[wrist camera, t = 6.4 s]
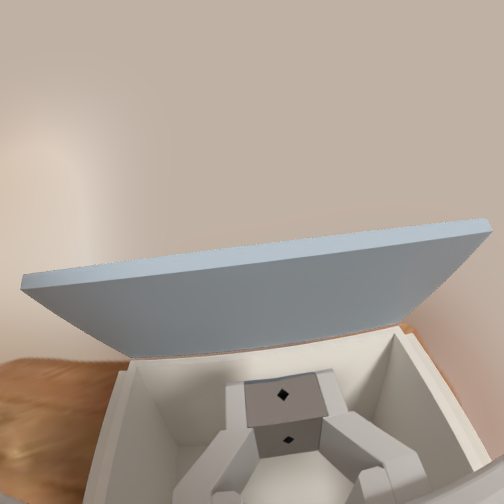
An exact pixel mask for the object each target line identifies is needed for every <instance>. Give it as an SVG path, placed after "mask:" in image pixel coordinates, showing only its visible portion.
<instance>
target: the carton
mask: <svg viewBox="0 0 504 504" xmlns="http://www.w3.org/2000/svg"><path fill="white" fill-rule="evenodd" d="M331 368H332V369H333V370H334V373H335V376H336V378H337V381H338V384H339V386H340V389H341V392H342V395H343V398H344V400H345V403H346V406H347V409H348V412H350V411H355V412H356V413H358V414H359V415H360V416H362V417H363V418H365V419H366V420H368V421H369V422H371V423H372V424H374V425H375V426H377V427H378V428H380V429H381V430H383V431H384V432H386V433H387V434H389V435H390V436H392V437H393V438H395V439H396V440H398V441H400V442H401V443H403V444H404V445H406V446H407V447H409V448H411V449H412V450H414V451H415V452H417V454H418V457H419V459H420V461H421V464H422V466H423V468H424V471H425V473H426V475H427V478H428V480H429V483H430V485H431V488H432V490H433V492H434V491H436V490H438V489H440V488H443V487H445V486H447V485H449V484H451V483H453V482H455V481H457V480H459V479H461V478H463V477H465V476H467V475H469V474H471V473H473V472H474V471H476V470H478V469H480V468H482V467H483V466H485V465H487V464H489V463H490V462H492V461H491V459H490V457H489V455H488V453H487V451H486V450H485V448H484V446H483V444H482V442H481V441H480V439H479V437H478V435H477V433H476V432H475V430H474V428H473V427H472V425H471V423H470V421H469V420H468V418H467V416H466V415H465V413H464V411H463V410H462V408H461V406H460V405H459V403H458V401H457V400H456V398H455V397H454V395H453V393H452V392H451V390H450V389H449V387H448V385H447V384H446V382H445V381H444V379H443V378H442V376H441V375H440V373H439V371H438V370H437V368H436V367H435V365H434V364H433V362H432V361H431V359H430V358H429V356H428V355H427V353H426V352H425V350H424V349H423V348H422V346H421V345H420V343H419V342H418V340H417V339H416V337H415V336H414V335H413V333H410V334H406V335H405V334H404V333H403V331H402V330H401V329H400V327H399V326H396V327H391V328H387V329H382V330H378V331H373V332H368V333H363V334H358V335H353V336H348V337H343V338H338V339H332V340H326V341H321V342H315V343H308V344H302V345H296V346H289V347H282V348H275V349H267V350H259V351H251V352H242V353H233V354H223V355H213V356H201V357H188V358H173V359H155V360H131V361H130V364H129V367H128V370H127V371H119V373H118V376H117V379H116V382H115V385H114V388H113V391H112V395H111V398H110V401H109V404H108V407H107V411H106V414H105V417H104V421H103V424H102V428H101V431H100V435H99V438H98V442H97V446H96V449H95V453H94V457H93V461H92V465H91V469H90V473H89V477H88V481H87V486H86V490H85V494H84V499H83V504H172V496H173V489H174V488H175V487H176V486H177V485H178V483H179V482H180V481H181V480H182V479H183V477H184V476H185V475H186V474H187V472H188V471H189V470H190V469H191V467H192V466H193V465H194V464H195V462H196V461H197V460H198V459H199V457H200V456H201V455H202V454H203V452H204V451H205V450H206V448H207V447H208V446H209V445H210V443H211V442H212V441H213V439H214V438H215V437H216V435H217V434H218V433H219V431H220V430H226V422H225V386H226V383H228V382H240V381H250V380H261V379H271V378H279V377H283V376H289V375H296V374H302V373H307V372H315V371H320V370H325V369H331ZM318 451H319V450H317V451H311V452H304V453H297V454H290V455H284V456H277V457H270V458H263V459H260V461H259V463H258V465H257V467H256V468H255V470H254V472H253V474H252V476H251V477H250V479H249V481H248V483H247V484H246V486H245V488H244V489H243V491H242V493H241V497H242V500H243V502H244V504H345V502H346V500H347V498H348V496H349V494H350V492H351V490H352V488H353V486H354V484H353V483H352V482H351V481H350V480H349V479H347V478H346V477H345V476H344V475H343V474H342V473H341V472H340V471H339V470H338V469H337V468H335V467H334V466H333V465H332V464H331V463H330V462H329V461H328V460H327V459H326V458H325V457H324V456H323V455H322V454H321V453H319V452H318Z"/></svg>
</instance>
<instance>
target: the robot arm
mask: <svg viewBox="0 0 504 504" xmlns="http://www.w3.org/2000/svg"><path fill="white" fill-rule="evenodd" d="M225 422H226V430H220V431H219V433H218V434H217V435H216V437H215V438H214V439H213V441H212V442H211V443H210V445H209V446H208V447H207V448H206V450H205V451H204V452H203V454H202V455H201V456H200V457H199V459H198V460H197V461H196V462H195V464H194V465H193V466H192V467H191V469H190V470H189V471H188V472H187V474H186V475H185V476H184V477H183V479H182V480H181V481H180V482H179V483H178V485H177V486H176V487H175V488H174V489H173V496H172V504H244V502H243V500H242V497H241V493H242V491H243V489H244V488H245V486H246V484H247V483H248V481H249V479H250V477H251V476H252V474H253V472H254V470H255V468H256V467H257V465H258V463H259V461H260V459H263V458H270V457H277V456H284V455H290V454H297V453H304V452H311V451H317V450H319V451H318V452H319V453H321V454H322V455H323V456H324V457H325V458H326V459H327V460H328V461H329V462H330V463H331V464H332V465H333V466H334V467H335V468H337V469H338V470H339V471H340V472H341V473H342V474H343V475H344V476H345V477H346V478H347V479H349V480H350V481H351V482H352V483H353V484H354V486H353V488H352V490H351V492H350V494H349V496H348V498H347V500H346V502H345V504H504V454H503V455H502V456H500V457H499V458H497V459H495V460H494V461H492V462H490V463H489V464H487V465H485V466H483V467H482V468H480V469H478V470H476V471H474V472H473V473H471V474H469V475H467V476H465V477H463V478H461V479H459V480H457V481H455V482H453V483H451V484H449V485H447V486H445V487H443V488H440V489H438V490H436V491H434V492H433V490H432V488H431V485H430V483H429V480H428V478H427V475H426V473H425V471H424V468H423V466H422V464H421V461H420V459H419V457H418V454H417V452H415V451H414V450H412V449H411V448H409V447H407V446H406V445H404V444H403V443H401V442H400V441H398V440H396V439H395V438H393V437H392V436H390V435H389V434H387V433H386V432H384V431H383V430H381V429H380V428H378V427H377V426H375V425H374V424H372V423H371V422H369V421H368V420H366V419H365V418H363V417H362V416H360V415H359V414H358V413H356V412H355V411H350V412H348V409H347V406H346V403H345V400H344V398H343V395H342V392H341V389H340V386H339V384H338V381H337V378H336V376H335V373H334V370H333V369H332V368H331V369H325V370H320V371H315V372H307V373H302V374H296V375H289V376H283V377H279V378H271V379H261V380H250V381H240V382H228V383H226V386H225ZM0 504H28V503H26V502H23V501H21V500H18V499H16V498H13V497H11V496H9V495H6V494H4V493H2V492H0Z"/></svg>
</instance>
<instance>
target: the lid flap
mask: <svg viewBox="0 0 504 504" xmlns="http://www.w3.org/2000/svg"><path fill="white" fill-rule="evenodd" d="M491 232H492V229H491V227H490V225H489V223H488V221H487V219H486V218H482V219H473V220H464V221H454V222H445V223H437V224H428V225H419V226H410V227H401V228H393V229H384V230H375V231H367V232H358V233H350V234H341V235H333V236H325V237H316V238H307V239H299V240H291V241H283V242H274V243H267V244H258V245H250V246H241V247H233V248H225V249H217V250H209V251H201V252H194V253H185V254H178V255H170V256H162V257H154V258H146V259H138V260H130V261H123V262H115V263H107V264H100V265H92V266H84V267H77V268H69V269H63V270H54V271H47V272H40V273H32V274H24V275H23V279H22V283H21V288H20V290H22V291H23V292H24V293H26V294H27V295H28V296H30V297H31V298H33V299H34V300H36V301H37V302H39V303H40V304H42V305H43V306H44V307H46V308H47V309H49V310H51V311H52V312H53V313H55V314H57V315H58V316H60V317H61V318H63V319H64V320H66V321H67V322H69V323H71V324H72V325H74V326H76V327H77V328H79V329H80V330H82V331H84V332H86V333H87V334H89V335H91V336H92V337H94V338H96V339H97V340H99V341H101V342H103V343H104V344H106V345H108V346H110V347H112V348H114V349H116V350H117V351H119V352H121V353H123V354H125V355H127V356H128V357H130V358H144V357H165V356H181V355H194V354H206V353H218V352H228V351H237V350H246V349H254V348H263V347H270V346H278V345H285V344H292V343H298V342H305V341H311V340H317V339H323V338H329V337H335V336H340V335H345V334H351V333H356V332H361V331H366V330H371V329H376V328H380V327H385V326H389V325H394V324H398V323H399V322H400V321H401V320H403V319H404V318H405V317H406V316H407V315H408V314H410V313H411V312H412V311H413V310H414V309H415V308H416V307H418V306H419V305H420V304H421V303H422V302H423V301H424V300H425V299H426V298H428V297H429V296H430V295H431V294H432V293H433V292H434V291H435V290H436V289H437V288H438V287H439V286H440V285H441V284H442V283H443V282H445V281H446V280H447V279H448V278H449V277H450V276H451V275H452V274H453V273H454V272H455V271H456V270H457V269H458V268H459V267H460V266H461V265H462V264H463V263H464V262H465V261H466V260H467V258H468V257H469V256H470V255H471V254H472V253H473V252H474V251H475V250H476V249H477V248H478V247H479V246H480V245H481V243H482V242H483V241H484V240H485V239H486V238H487V237H488V236H489V235H490V234H491Z"/></svg>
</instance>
